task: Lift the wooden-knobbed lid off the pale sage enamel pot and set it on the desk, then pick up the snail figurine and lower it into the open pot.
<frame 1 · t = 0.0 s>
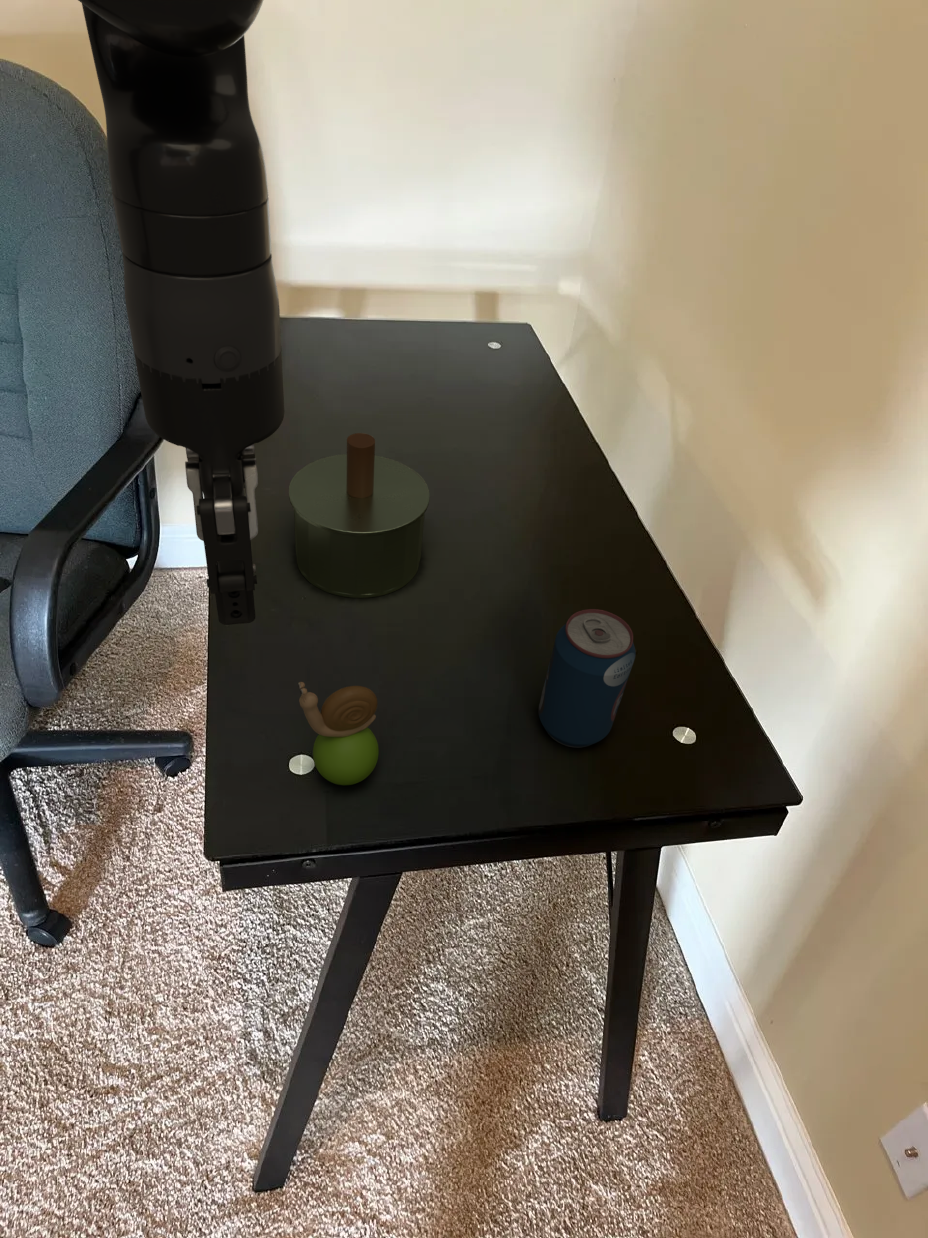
hand: (234, 576, 54), 22 cm above the table, tool pointing down, fingers open, 8 cm apart
pot lid: (359, 494, 87), point 8 cm above the table, touching pot
snail figurine: (340, 775, 71), on the table
pot: (358, 558, 92), on the table
soda can: (572, 725, 77), on the table
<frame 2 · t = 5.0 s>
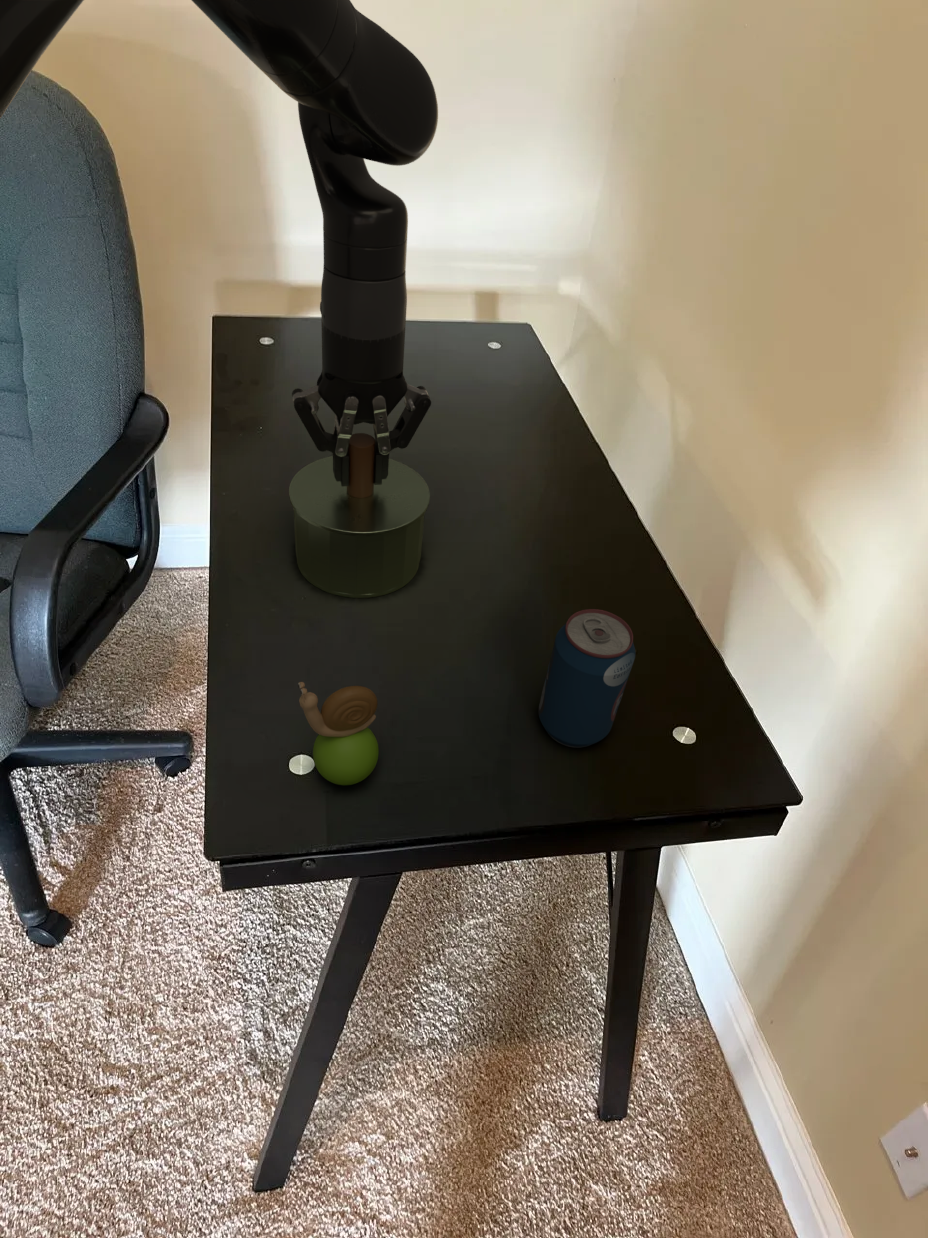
hand: (360, 480, 85), 10 cm above the table, tool pointing down, fingers closed on pot lid, 3 cm apart
pot lid: (360, 494, 87), point 9 cm above the table, touching gripper, pot
everything else where it was.
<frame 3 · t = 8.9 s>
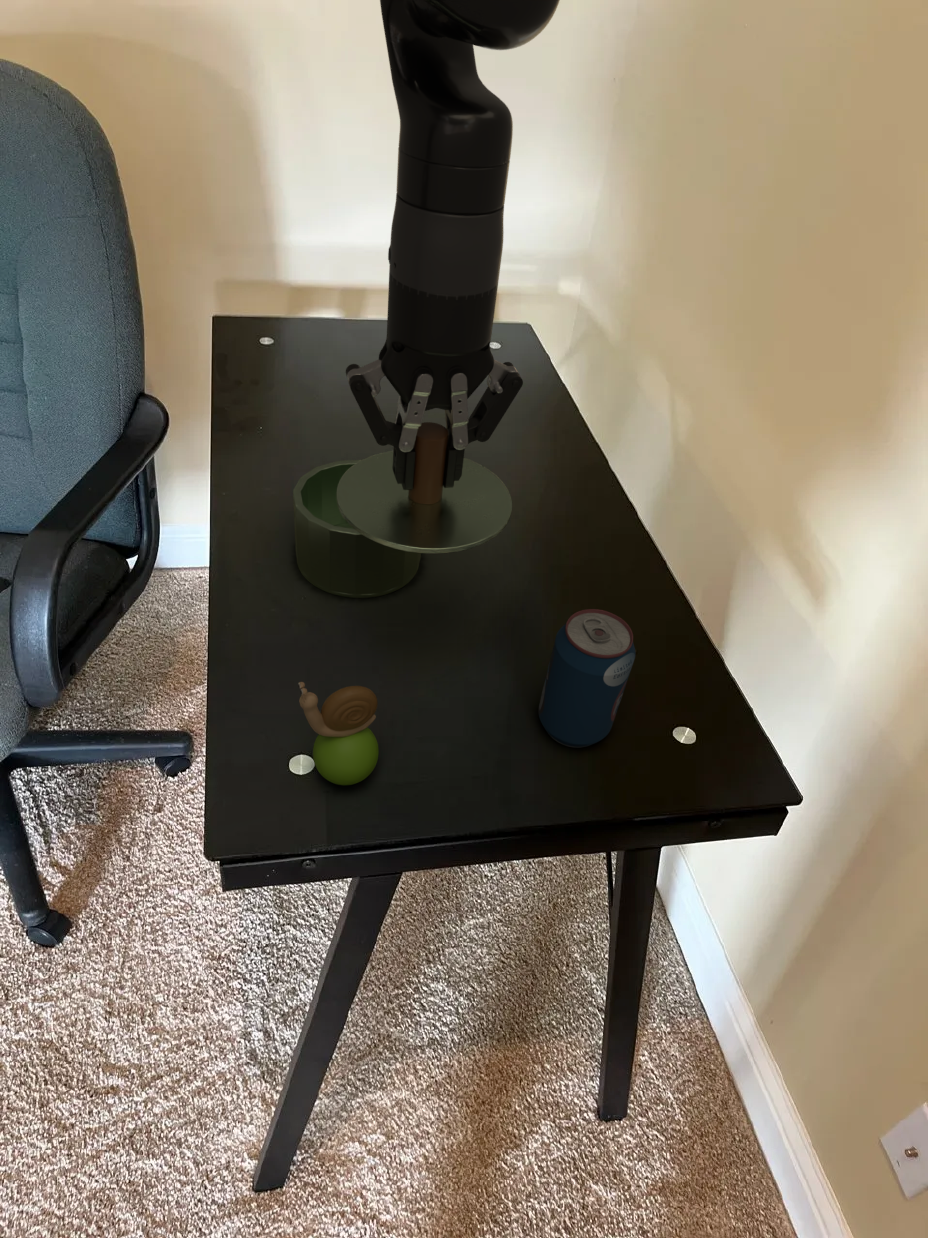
hand: (426, 482, 68), 20 cm above the table, tool pointing down, fingers closed on pot lid, 3 cm apart
pot lid: (424, 499, 69), point 19 cm above the table, touching gripper
everything else where it was.
when the fingers open (2 cm above the table, at t = 13.1 s): pot lid stays where it is, point 1 cm above the table.
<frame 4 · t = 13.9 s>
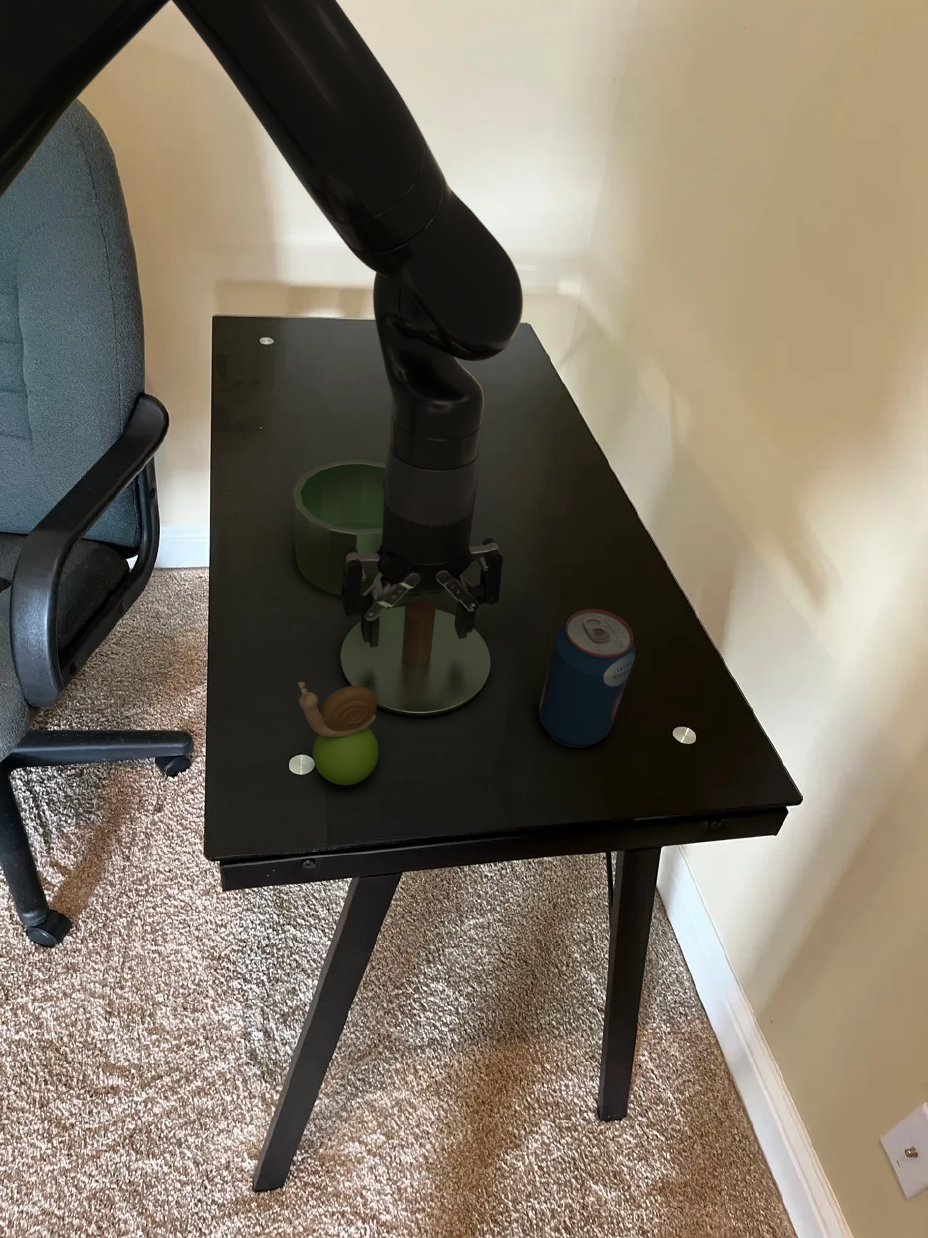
hand: (417, 637, 79), 4 cm above the table, tool pointing down, fingers open, 8 cm apart
pot lid: (415, 659, 81), point 1 cm above the table
everything else where it was.
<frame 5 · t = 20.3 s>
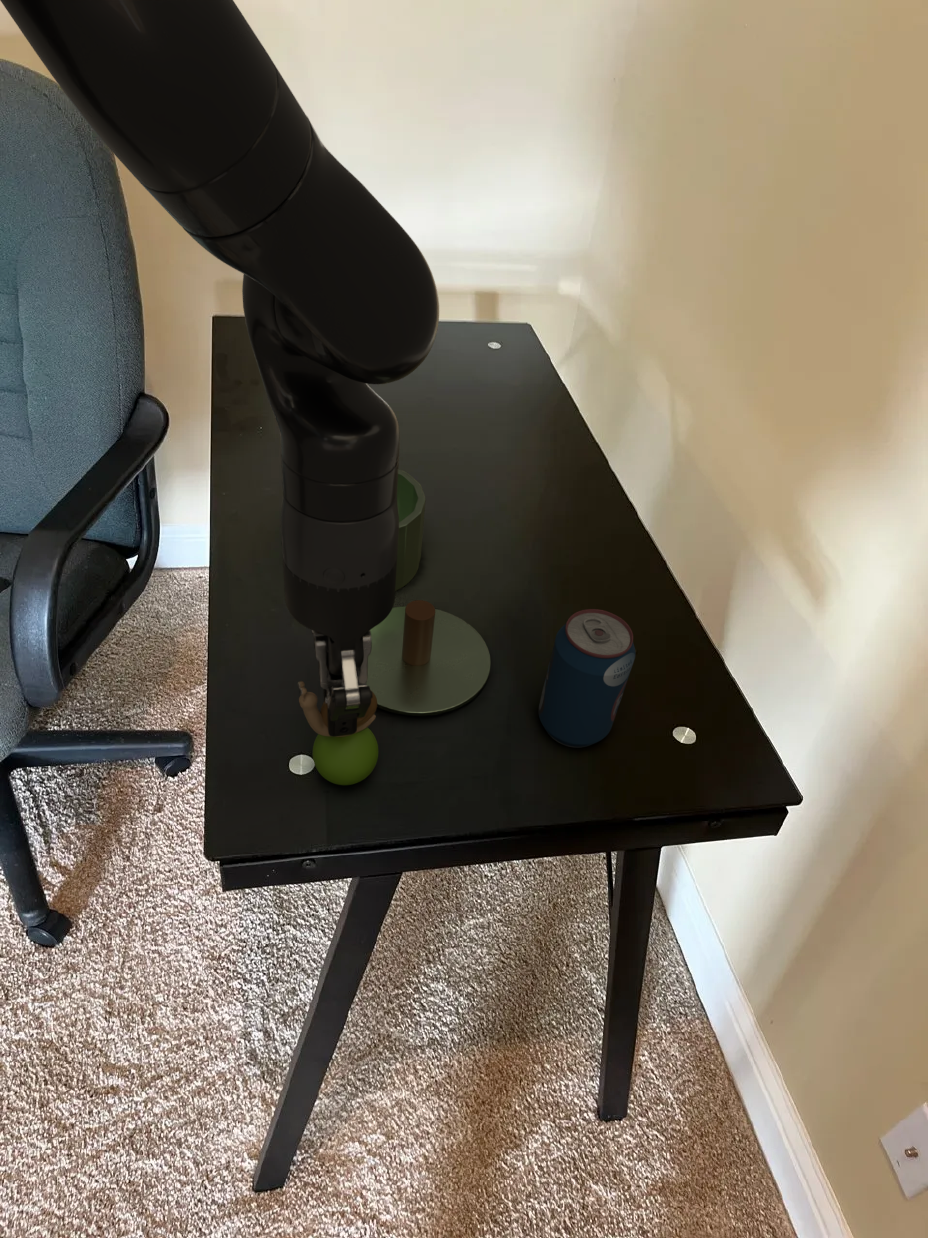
hand: (340, 719, 66), 7 cm above the table, tool pointing down, fingers closed on snail figurine
snail figurine: (339, 775, 71), on the table, touching gripper
everything else where it was.
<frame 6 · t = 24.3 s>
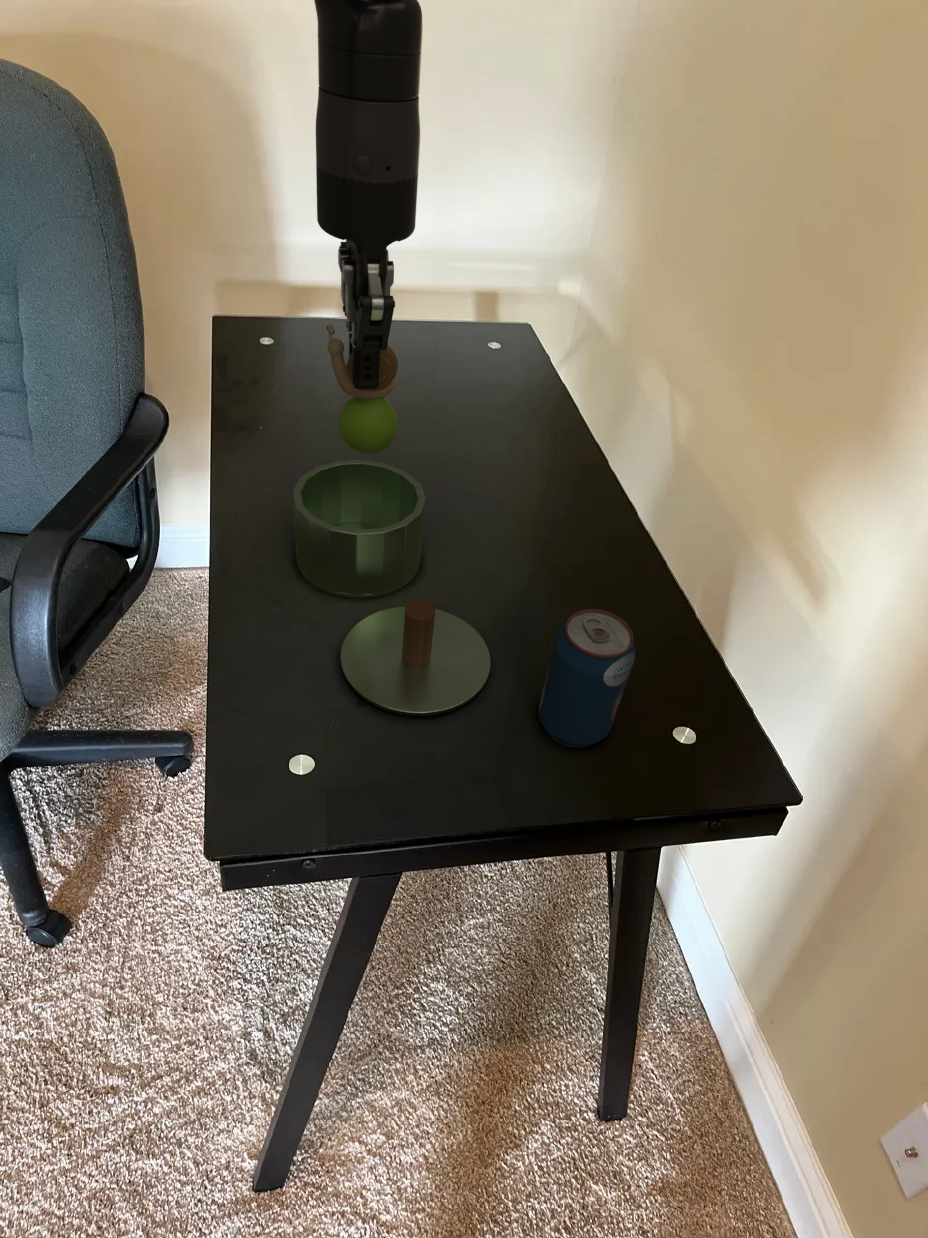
hand: (363, 379, 72), 24 cm above the table, tool pointing down, fingers closed on snail figurine
snail figurine: (362, 452, 77), point 17 cm above the table, touching gripper
everything else where it was.
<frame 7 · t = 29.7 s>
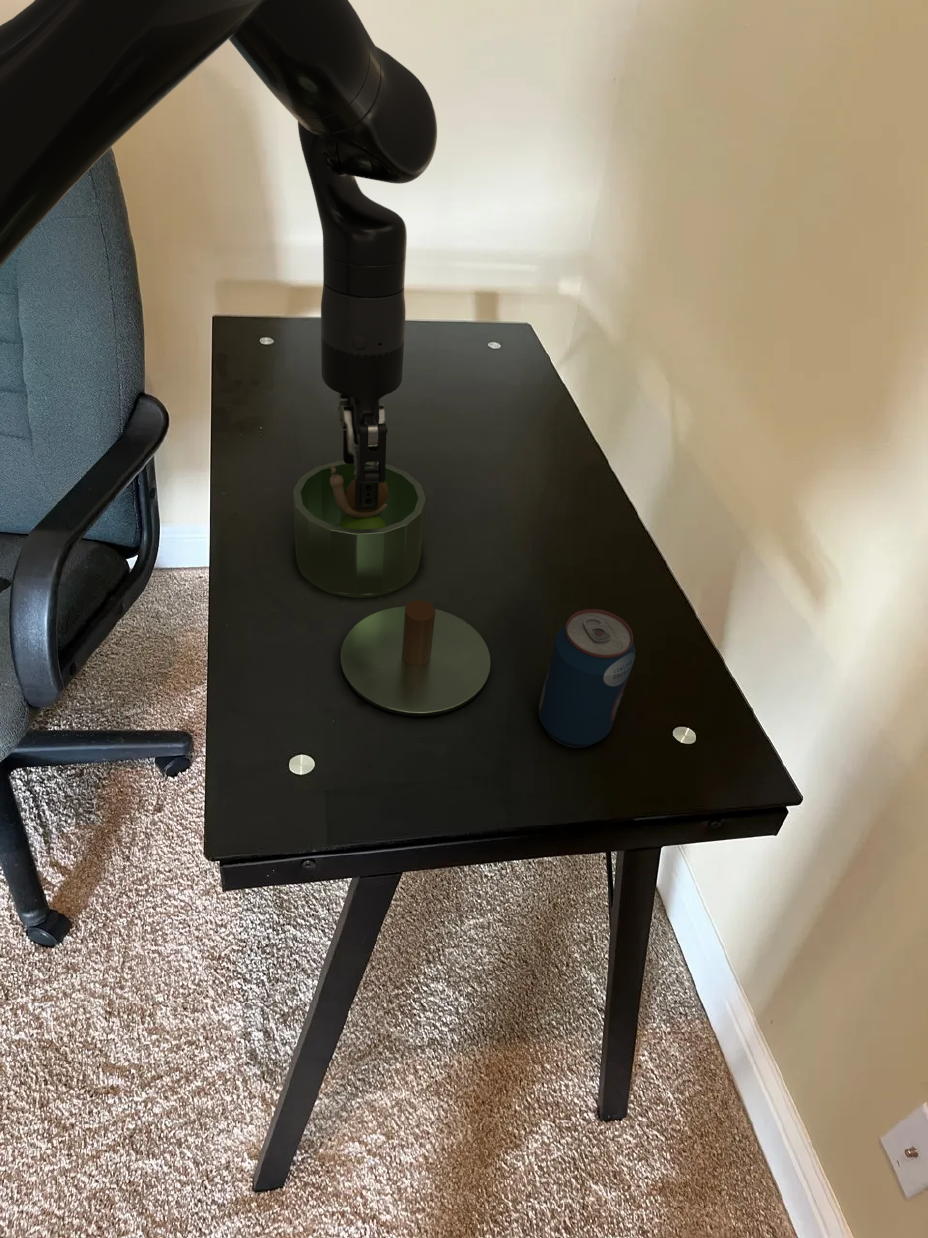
hand: (359, 483, 86), 10 cm above the table, tool pointing down, fingers open, 8 cm apart
snail figurine: (358, 557, 92), resting on pot
everything else where it was.
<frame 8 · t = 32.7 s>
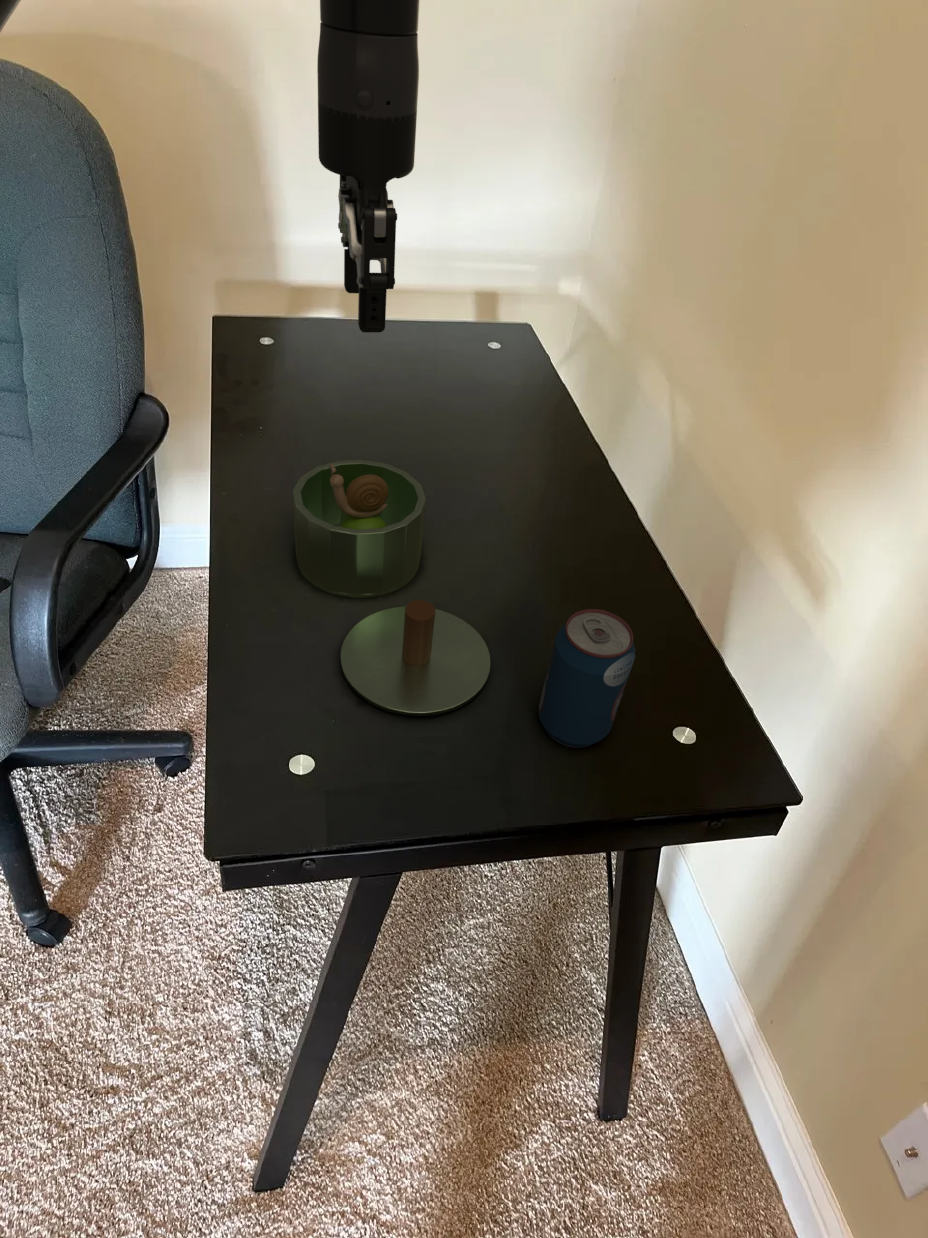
hand: (363, 310, 73), 28 cm above the table, tool pointing down, fingers open, 8 cm apart
nothing on the table moved.
at the end: pot lid inside the target area (0.1 cm from its centre), point 0.6 cm above the table; snail figurine inside the target area in the pot (0.2 cm from its centre), point 0.3 cm above the pot's base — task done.
